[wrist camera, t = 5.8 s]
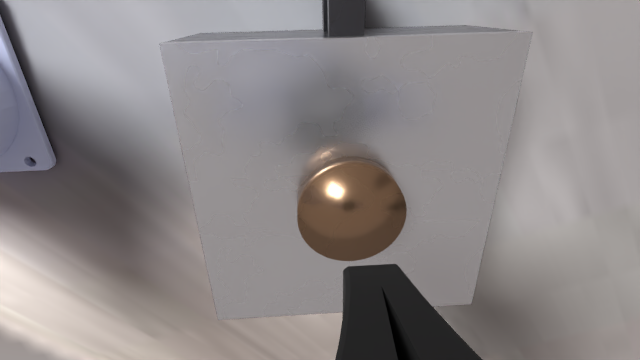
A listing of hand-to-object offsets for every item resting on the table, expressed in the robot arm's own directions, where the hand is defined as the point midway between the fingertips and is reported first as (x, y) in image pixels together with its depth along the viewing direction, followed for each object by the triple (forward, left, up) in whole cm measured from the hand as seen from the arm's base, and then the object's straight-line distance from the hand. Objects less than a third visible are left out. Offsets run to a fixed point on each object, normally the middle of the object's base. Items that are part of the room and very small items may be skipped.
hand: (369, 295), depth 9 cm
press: (0, +1, -10) cm, 10 cm away
